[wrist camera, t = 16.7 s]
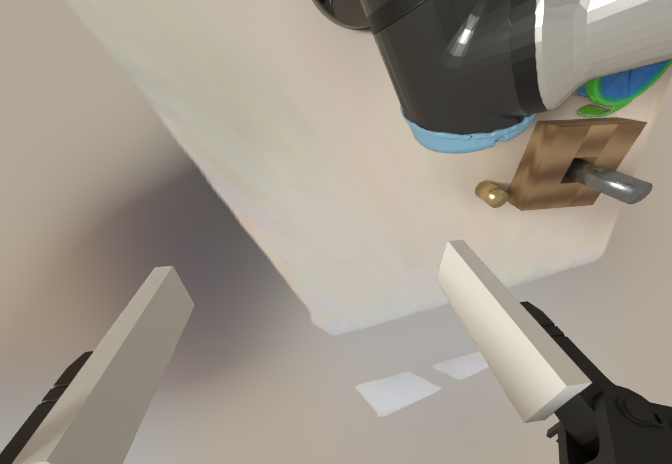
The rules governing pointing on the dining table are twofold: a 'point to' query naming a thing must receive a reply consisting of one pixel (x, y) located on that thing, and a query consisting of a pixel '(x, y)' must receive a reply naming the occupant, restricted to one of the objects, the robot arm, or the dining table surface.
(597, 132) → the hole block
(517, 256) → the dining table surface
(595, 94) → the snack cup
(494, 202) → the short brass pin
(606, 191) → the long steel pin
